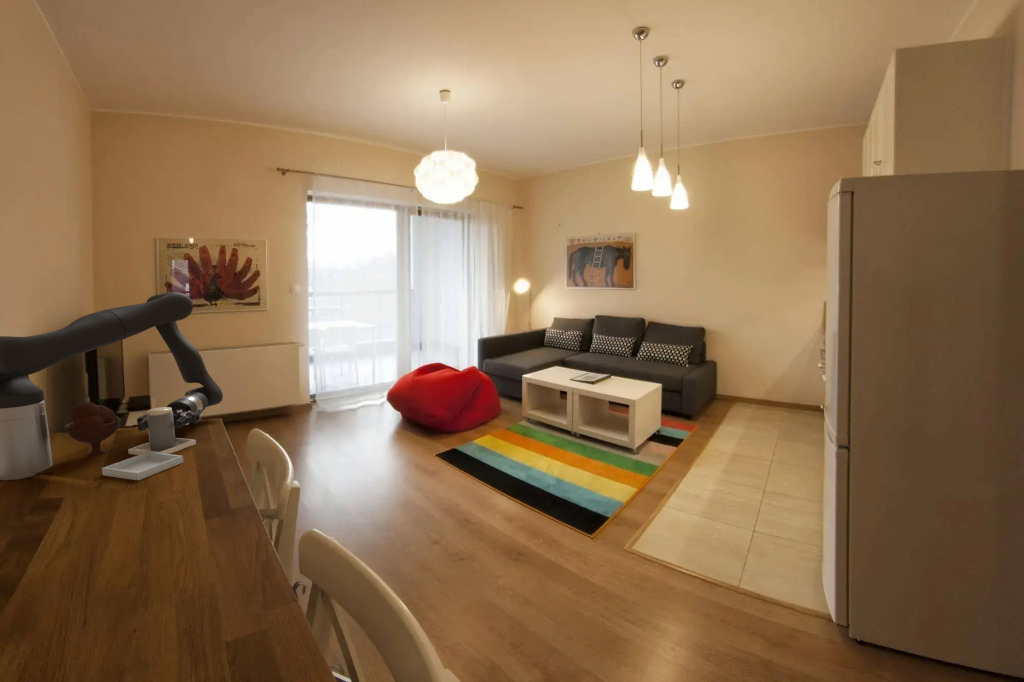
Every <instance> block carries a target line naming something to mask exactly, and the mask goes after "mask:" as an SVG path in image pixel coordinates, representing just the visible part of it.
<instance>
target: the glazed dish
mask: <svg viewBox="0 0 1024 682" xmlns="http://www.w3.org/2000/svg"><path fill="white" fill-rule="evenodd" d="M183 463H184V455H181V454H180V455H178V454H173V453H171V454H165V453H157V452H146V453H143V454H141V455H135V456H132V457H130V458H127V459H124V460H121V461H119V462H116V463H112V464H110V465H107V466H104V467H102V468H101V473H102V476H105V477H113V478H119V479H126V480H134V481H141V480H143V479H146V478H149V477H151V476H153V475H156V474H158V473H161V472H163V471H166V470H167V469H171V468H173V467H175V466H177V465H180V464H183Z"/></svg>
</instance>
